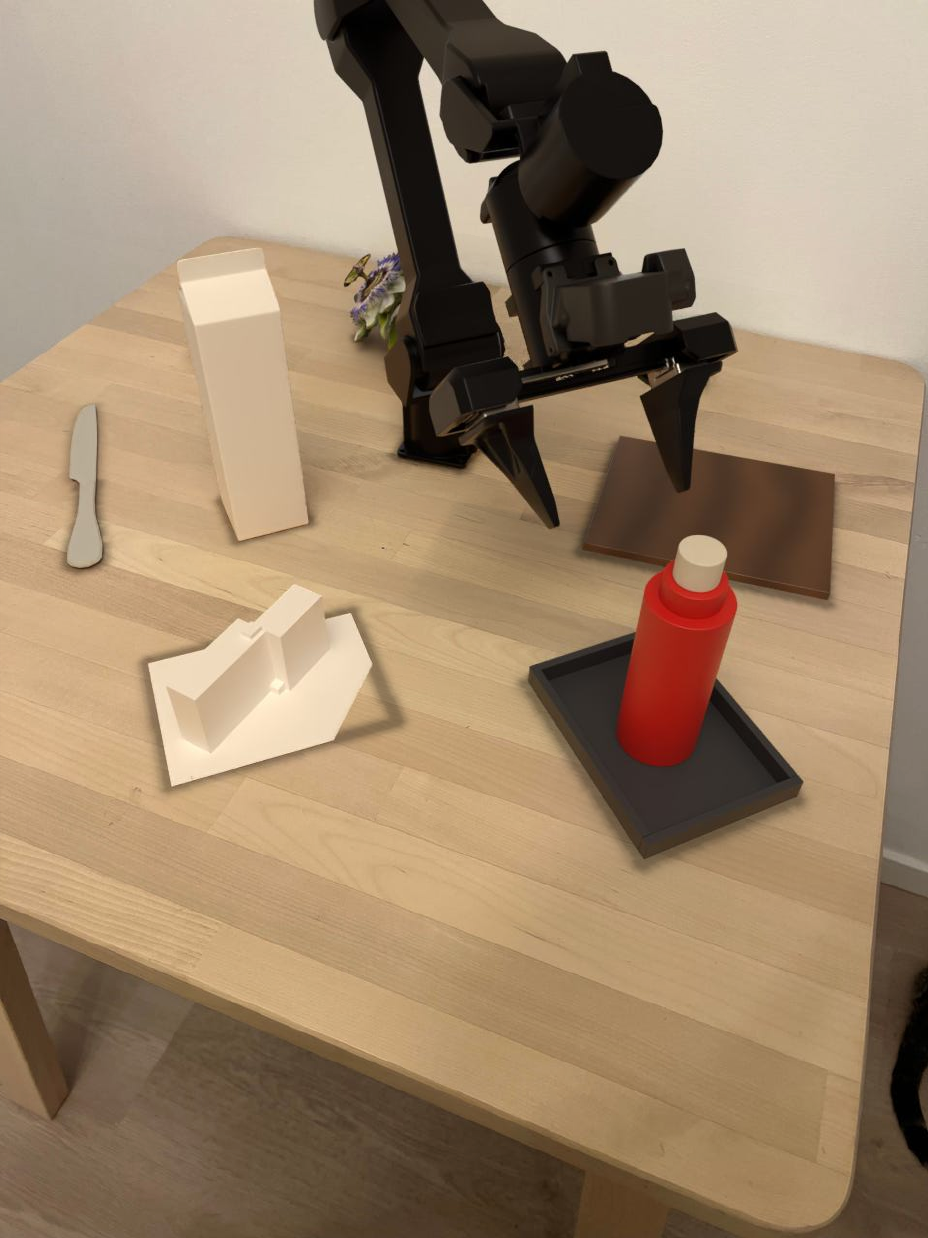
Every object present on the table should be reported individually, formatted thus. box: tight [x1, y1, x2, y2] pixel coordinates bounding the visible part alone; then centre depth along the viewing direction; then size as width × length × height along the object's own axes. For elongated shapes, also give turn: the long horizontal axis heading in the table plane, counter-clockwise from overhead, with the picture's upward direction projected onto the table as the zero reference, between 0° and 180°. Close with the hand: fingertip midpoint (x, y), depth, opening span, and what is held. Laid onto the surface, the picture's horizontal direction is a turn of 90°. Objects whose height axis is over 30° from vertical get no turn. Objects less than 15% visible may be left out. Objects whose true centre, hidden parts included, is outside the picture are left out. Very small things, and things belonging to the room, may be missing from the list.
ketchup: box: [616, 535, 738, 767], centre depth 56 cm, size 5×5×16 cm
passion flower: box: [343, 251, 406, 351], centre depth 97 cm, size 11×11×12 cm
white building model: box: [147, 583, 374, 787], centre depth 62 cm, size 15×11×6 cm
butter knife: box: [66, 403, 103, 569], centre depth 81 cm, size 1×24×3 cm
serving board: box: [582, 435, 836, 601], centre depth 78 cm, size 19×16×1 cm
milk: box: [176, 247, 310, 542], centre depth 70 cm, size 6×6×22 cm
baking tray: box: [527, 631, 804, 860], centre depth 61 cm, size 15×11×2 cm
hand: (620, 509), depth 57 cm, fingers open, 9 cm apart
